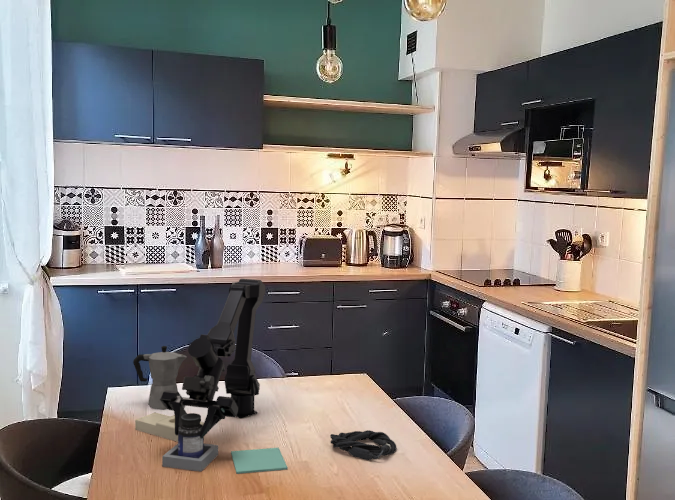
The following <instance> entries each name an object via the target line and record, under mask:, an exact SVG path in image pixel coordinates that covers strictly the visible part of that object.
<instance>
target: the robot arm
mask: <svg viewBox="0 0 675 500" xmlns="http://www.w3.org/2000/svg"><path fill="white" fill-rule="evenodd" d="M265 294H266V284H264V283H263V281H262V279H250V278H240V279H239V280H238V281H236V282H232V284H230V286H229V290H228V296H227V298H226V301H225V304H224V306H223V308H222V311H221V314H220V317H219V318H218V321H217V324H215V326H213V327H211V329H209V331H208V333H207V334H200V336H199V338H195V339H194V340H192V342H190V344H189V345H188V348H187V351H188V354H189V355H190V357H191V359H192V360H193V361H192V362H194V364H195V366H196V367H197V368H198V372H197V374H196V375H195V374H194V375H193V376H184V377H183V381H182V387H181V390H182V391H186V392H185V394H186V395H187V396H189V397H183V396H182V395H181V393H180V392H179V391H178V392H177V391H167V390H166V391H164V392H163V393H162V395H161V397H160V401H161V402H162V403H163V405H164V406H165V407H166V409H165V410H168V411H173V412H174V414H173V415H175V435H178V428H179V427H180V426H181V425H182V423H181V416H182V415H184V414H188V413H187V411H186V410H185V408H186V407H194V408H204V409H207V413H206V416H205V418H204V424H203V427H202V430H201V433H200V438H203V437H204V438H205V436H206V435H207V434H208V433H209V432H210V430H212V428H213V427H214V426H216V424H218V423H219V422H220V421H221V420H225V419H226V417H228V418H238V419H244V418H247V417H251V416H254V415H257V414H258V413H259V411H257V410H255V397H256V396H259V394H260V389H261V388H260V387H261V384H260V382H259V380H258V379H257V376H256V368H255V366H254V364H253V361H252V353H253V352H252V351H253V341H254V334H255V333H254V332H255V323H256V313H257V310H258V308H259V307H260V306H261V304H262V303H263V301H264V296H265ZM236 328H237V331H236V332H237V333H236V337H235V335H234V334H235V330H236ZM232 354H234V358H233V359H232V361H231V363H229V364H228V365H227V366H226V367H225V363H224V360H223V359H222V358H229V357H231V356H232ZM225 371H226V374H225V375H224V385H225V394H227V395H228V394H230V396H224V395H223V396H222V395H219V396H218V397H217V399H216V400H214V398H215V394H216V392H219V390H220V388H219V386H218V385H219V383H220V379H221V376H222V373H223V372H225Z"/></svg>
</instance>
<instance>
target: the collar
mask: <svg viewBox="0 0 675 500" xmlns="http://www.w3.org/2000/svg"><path fill="white" fill-rule="evenodd" d="M218 456H219V444H214V443H213V444H212V443H205V442H204V454H203V455H202V456H201V457H200V458H199V459H198V458H190V457H182V456H178V443H176V444H175V445H174V446H173V447H172V448H171V449H169V450H168V451H167V452H165V454H163V455H162V457H161V459H162V460H161V461H162V462H161V463H162V464H161V466H162V467H164V468H172V469H178V470H179V469H180V470H185V471H195V472H202V471H204V470H205V468H207V467H208V466H209V465H210V464H211V463H212V461H214V460H215V459H216V458H217V457H218Z"/></svg>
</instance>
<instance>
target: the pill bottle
mask: <svg viewBox="0 0 675 500" xmlns="http://www.w3.org/2000/svg"><path fill="white" fill-rule="evenodd" d="M200 422H202V415H201V414H200V413H196V412H193V413H192V412H189V413H187V414H184V415H182V416H181V423H182V425H181V426H180V427H179V428H178V442H177V444H178V456H182V457H190V458H198V459H199V458H200V457H201V456H202V455H203V454H204V443H205V436H204V437H203V438H200V433H201V430H202V427H203V426H202V425H201V424H200Z"/></svg>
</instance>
